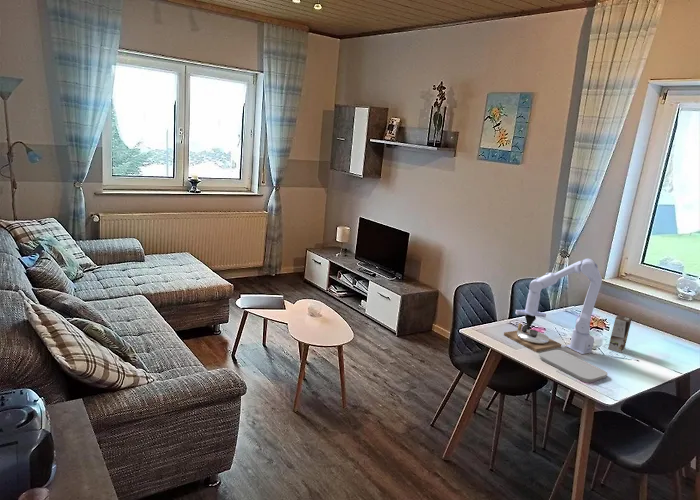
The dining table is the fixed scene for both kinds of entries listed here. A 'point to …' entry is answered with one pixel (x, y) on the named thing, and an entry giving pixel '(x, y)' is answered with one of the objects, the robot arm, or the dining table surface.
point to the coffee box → (619, 333)
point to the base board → (532, 346)
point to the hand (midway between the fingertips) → (527, 329)
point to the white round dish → (537, 339)
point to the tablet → (573, 365)
